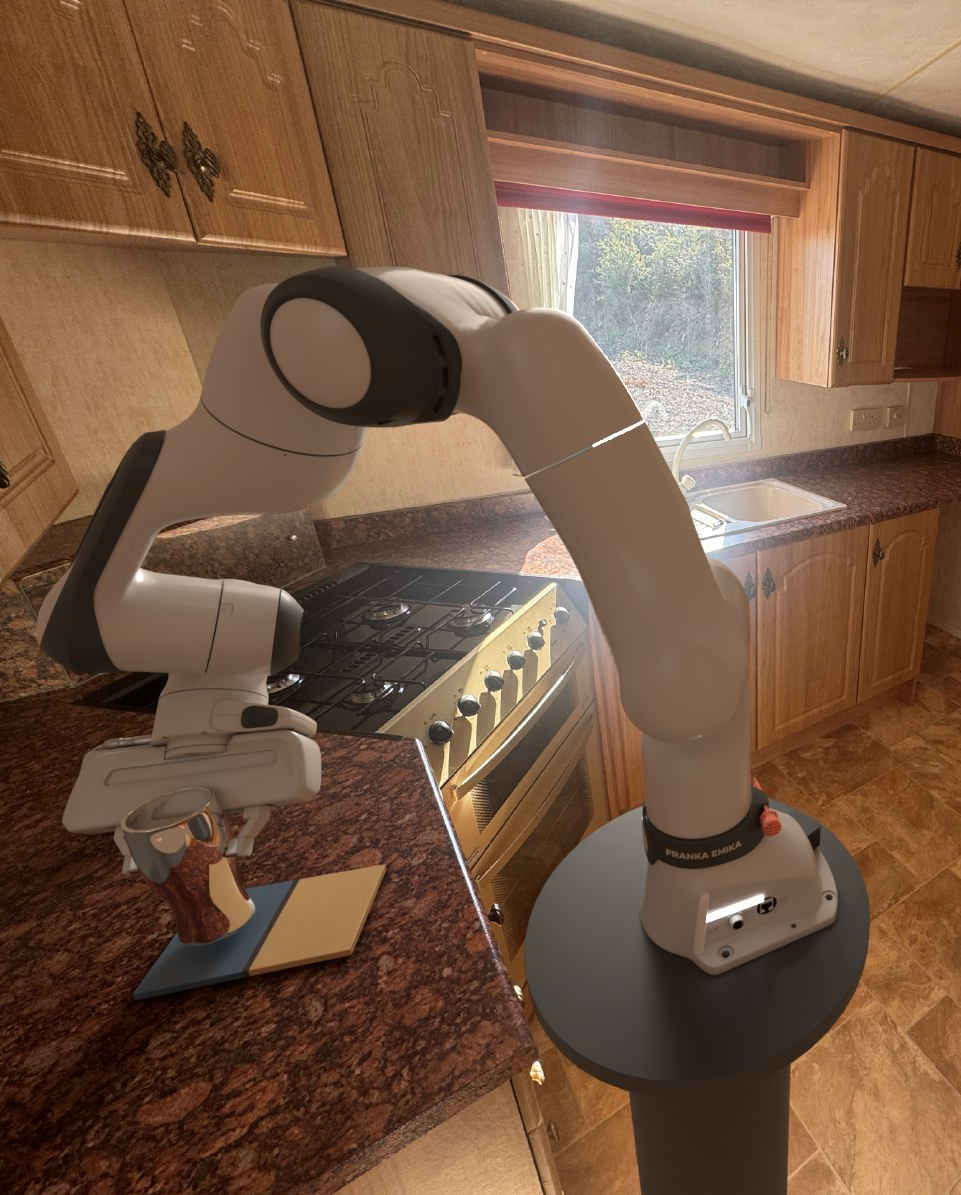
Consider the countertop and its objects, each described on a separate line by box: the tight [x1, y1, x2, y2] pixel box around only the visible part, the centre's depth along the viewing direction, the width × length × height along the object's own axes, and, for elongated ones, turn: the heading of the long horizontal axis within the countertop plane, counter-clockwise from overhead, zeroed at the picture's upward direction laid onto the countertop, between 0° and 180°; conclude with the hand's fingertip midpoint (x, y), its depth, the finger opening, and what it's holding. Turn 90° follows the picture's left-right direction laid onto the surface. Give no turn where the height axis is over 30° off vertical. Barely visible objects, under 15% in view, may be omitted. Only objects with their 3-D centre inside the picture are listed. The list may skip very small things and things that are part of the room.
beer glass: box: [121, 786, 256, 948], centre depth 63 cm, size 7×7×15 cm
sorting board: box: [131, 863, 387, 1001], centre depth 67 cm, size 18×12×1 cm, turn 106°
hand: (189, 865), depth 62 cm, fingers closed on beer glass, 7 cm apart
